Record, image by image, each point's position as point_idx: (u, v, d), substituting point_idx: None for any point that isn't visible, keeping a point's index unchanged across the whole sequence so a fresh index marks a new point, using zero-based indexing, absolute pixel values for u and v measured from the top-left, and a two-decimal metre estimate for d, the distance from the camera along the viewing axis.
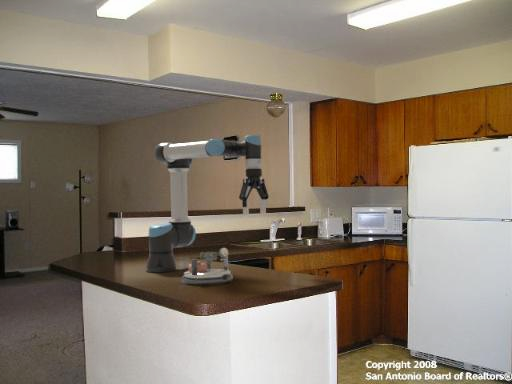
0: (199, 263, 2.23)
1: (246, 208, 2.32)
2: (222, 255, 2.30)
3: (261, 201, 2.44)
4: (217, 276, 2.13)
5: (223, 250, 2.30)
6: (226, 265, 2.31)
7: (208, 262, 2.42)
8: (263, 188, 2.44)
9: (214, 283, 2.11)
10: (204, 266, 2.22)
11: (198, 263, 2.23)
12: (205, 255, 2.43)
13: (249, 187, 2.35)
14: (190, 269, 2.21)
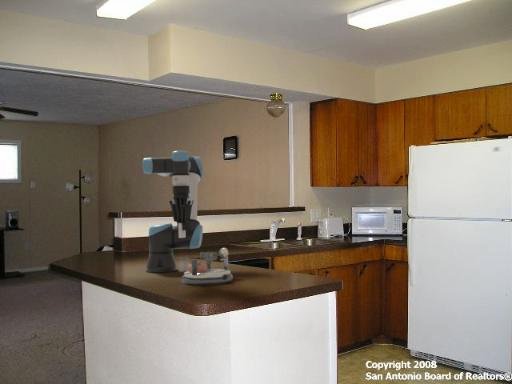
0: (199, 263, 2.23)
1: None
2: (222, 255, 2.30)
3: None
4: (217, 276, 2.13)
5: (223, 250, 2.30)
6: (226, 265, 2.31)
7: (208, 262, 2.42)
8: None
9: (214, 283, 2.11)
10: (204, 266, 2.22)
11: (198, 263, 2.23)
12: (205, 255, 2.43)
13: None
14: (190, 269, 2.21)
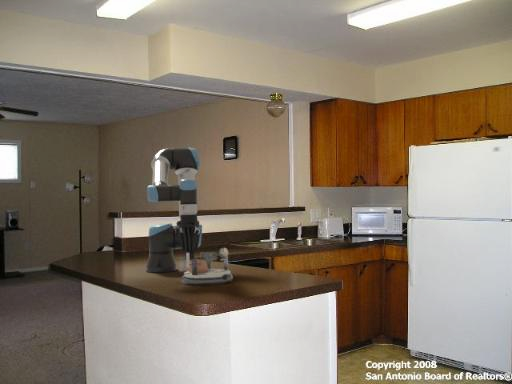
0: (199, 263, 2.23)
1: None
2: (222, 255, 2.30)
3: None
4: (217, 276, 2.13)
5: (223, 250, 2.30)
6: (226, 265, 2.31)
7: (208, 262, 2.42)
8: None
9: (214, 283, 2.11)
10: (205, 266, 2.22)
11: (198, 263, 2.23)
12: (205, 255, 2.43)
13: None
14: (191, 269, 2.21)
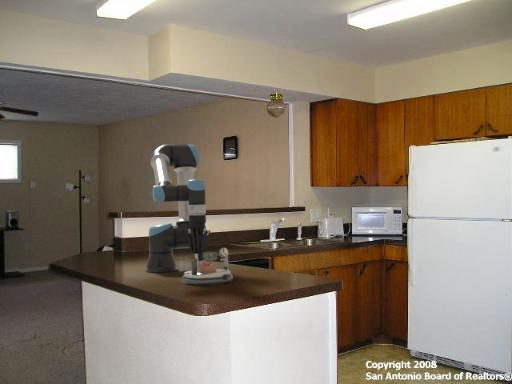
0: (208, 264, 2.20)
1: None
2: (222, 255, 2.30)
3: None
4: (217, 276, 2.13)
5: (223, 250, 2.30)
6: (226, 265, 2.31)
7: None
8: None
9: (214, 283, 2.11)
10: (213, 267, 2.19)
11: (207, 264, 2.20)
12: (205, 255, 2.43)
13: None
14: (199, 270, 2.19)
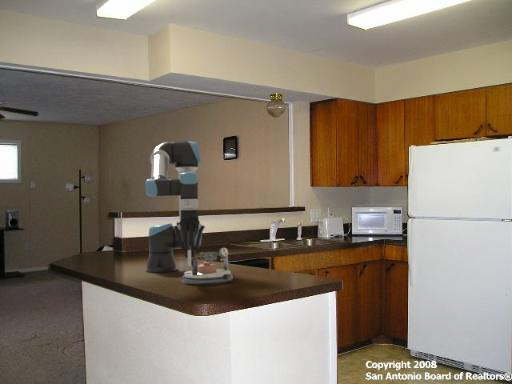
0: (208, 264, 2.20)
1: None
2: (222, 255, 2.30)
3: None
4: (217, 276, 2.13)
5: (223, 250, 2.30)
6: (226, 265, 2.31)
7: None
8: (197, 235, 2.14)
9: (214, 283, 2.11)
10: (213, 267, 2.19)
11: (207, 264, 2.20)
12: (205, 255, 2.43)
13: None
14: (199, 270, 2.19)
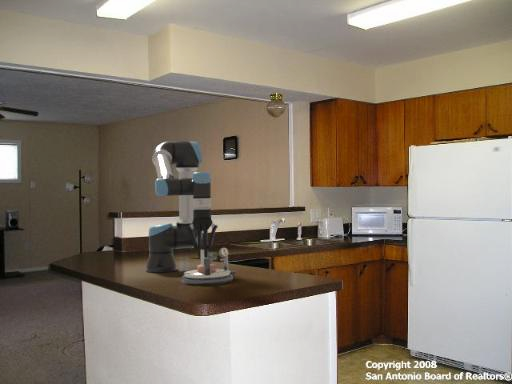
0: None
1: None
2: (222, 255, 2.30)
3: None
4: (228, 274, 2.18)
5: (223, 250, 2.30)
6: (226, 265, 2.31)
7: None
8: (210, 235, 2.13)
9: (214, 283, 2.11)
10: (215, 266, 2.22)
11: None
12: None
13: None
14: None
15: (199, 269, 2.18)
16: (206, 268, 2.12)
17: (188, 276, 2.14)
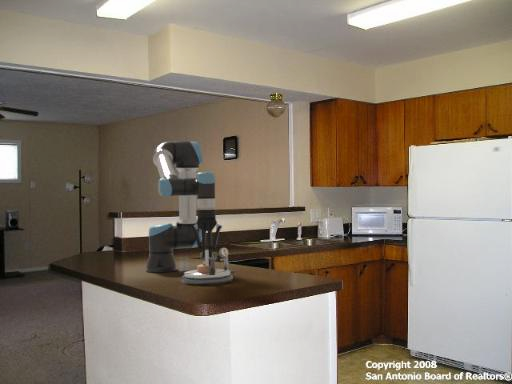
0: None
1: None
2: (222, 255, 2.30)
3: None
4: None
5: (223, 250, 2.30)
6: (226, 265, 2.31)
7: None
8: (215, 235, 2.13)
9: (214, 283, 2.11)
10: None
11: None
12: None
13: (202, 233, 2.14)
14: (207, 270, 2.17)
15: (201, 269, 2.18)
16: (211, 268, 2.13)
17: (192, 276, 2.13)
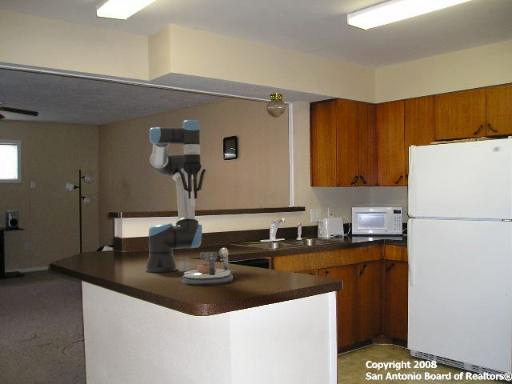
0: None
1: None
2: (222, 255, 2.30)
3: None
4: None
5: (223, 250, 2.30)
6: (226, 265, 2.31)
7: None
8: (200, 178, 2.32)
9: (214, 283, 2.11)
10: None
11: None
12: (205, 255, 2.43)
13: None
14: (207, 270, 2.17)
15: (201, 269, 2.18)
16: (211, 268, 2.13)
17: (192, 276, 2.13)
